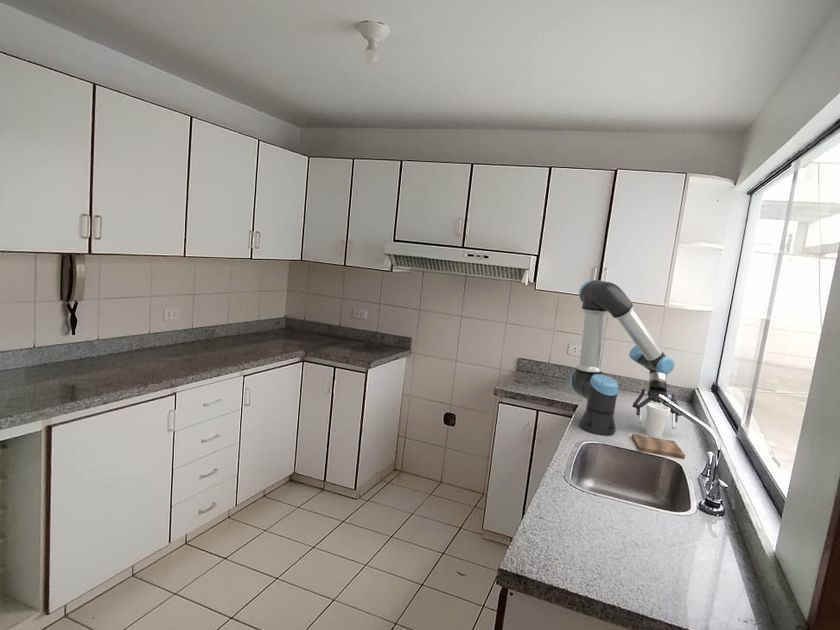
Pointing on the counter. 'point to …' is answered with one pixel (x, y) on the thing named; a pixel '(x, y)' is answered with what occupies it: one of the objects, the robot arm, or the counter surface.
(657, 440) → the walnut board
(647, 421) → the foam cup
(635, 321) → the robot arm
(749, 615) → the counter surface
